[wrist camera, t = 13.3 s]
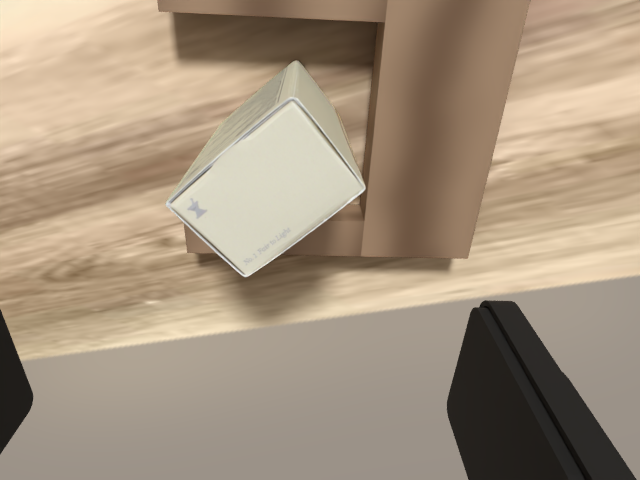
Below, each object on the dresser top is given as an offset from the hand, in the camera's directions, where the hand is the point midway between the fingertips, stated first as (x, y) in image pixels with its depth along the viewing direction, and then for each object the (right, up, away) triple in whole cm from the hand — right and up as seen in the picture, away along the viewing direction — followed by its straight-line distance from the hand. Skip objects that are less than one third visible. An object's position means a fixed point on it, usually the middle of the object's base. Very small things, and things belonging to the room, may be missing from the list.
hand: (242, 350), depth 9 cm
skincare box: (-1, +10, +18) cm, 20 cm away
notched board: (+3, +9, +17) cm, 20 cm away
